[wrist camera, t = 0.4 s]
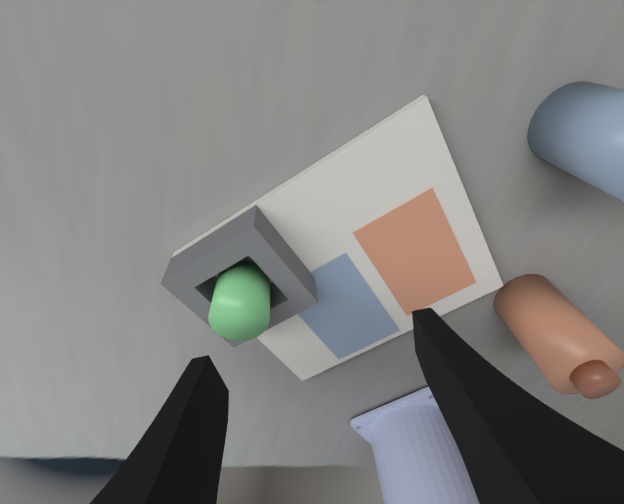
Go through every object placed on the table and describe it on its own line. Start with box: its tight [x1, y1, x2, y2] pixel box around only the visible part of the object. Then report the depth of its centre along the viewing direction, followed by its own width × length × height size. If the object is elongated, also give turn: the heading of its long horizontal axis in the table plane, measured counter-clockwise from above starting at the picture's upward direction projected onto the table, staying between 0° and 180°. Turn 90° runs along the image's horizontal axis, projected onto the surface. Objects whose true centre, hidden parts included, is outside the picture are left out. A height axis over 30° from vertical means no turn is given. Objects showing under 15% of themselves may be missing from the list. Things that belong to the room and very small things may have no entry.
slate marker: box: [528, 81, 624, 202], centre depth 16 cm, size 4×4×8 cm
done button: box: [208, 260, 271, 341], centre depth 19 cm, size 3×3×3 cm
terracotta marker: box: [494, 274, 624, 399], centre depth 22 cm, size 4×4×8 cm
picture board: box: [161, 95, 503, 381], centre depth 22 cm, size 14×16×3 cm
